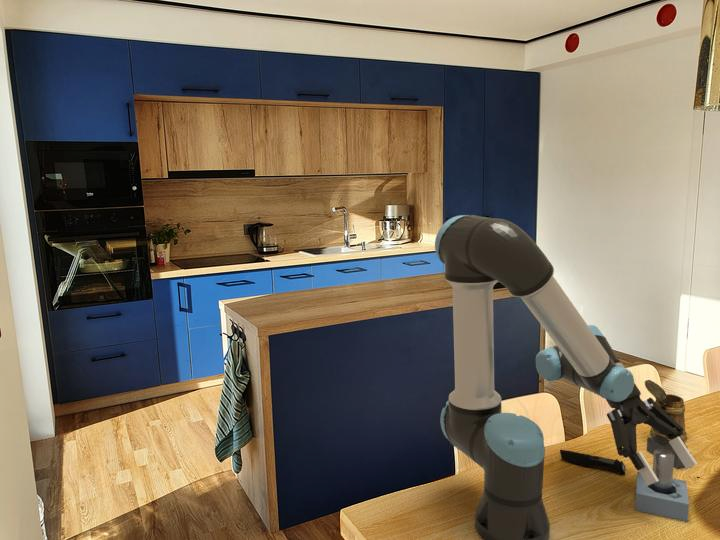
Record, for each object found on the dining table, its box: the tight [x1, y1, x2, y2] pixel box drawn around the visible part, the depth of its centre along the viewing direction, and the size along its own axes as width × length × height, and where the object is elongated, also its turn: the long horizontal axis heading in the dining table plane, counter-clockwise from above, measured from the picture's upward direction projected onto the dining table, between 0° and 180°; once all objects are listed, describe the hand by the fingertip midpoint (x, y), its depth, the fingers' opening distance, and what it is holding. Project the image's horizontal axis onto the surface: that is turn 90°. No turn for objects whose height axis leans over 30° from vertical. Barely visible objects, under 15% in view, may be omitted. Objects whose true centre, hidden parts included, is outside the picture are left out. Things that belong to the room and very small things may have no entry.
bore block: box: [634, 471, 690, 522], centre depth 127 cm, size 10×10×4 cm
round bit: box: [651, 449, 675, 495], centre depth 126 cm, size 4×4×12 cm
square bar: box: [646, 435, 692, 470], centre depth 146 cm, size 10×4×4 cm, turn 17°
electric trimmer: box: [559, 449, 627, 476], centre depth 144 cm, size 4×16×3 cm, turn 61°
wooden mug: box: [644, 379, 688, 443], centre depth 156 cm, size 9×14×18 cm, turn 113°
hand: (673, 474), depth 124 cm, fingers open, 13 cm apart
